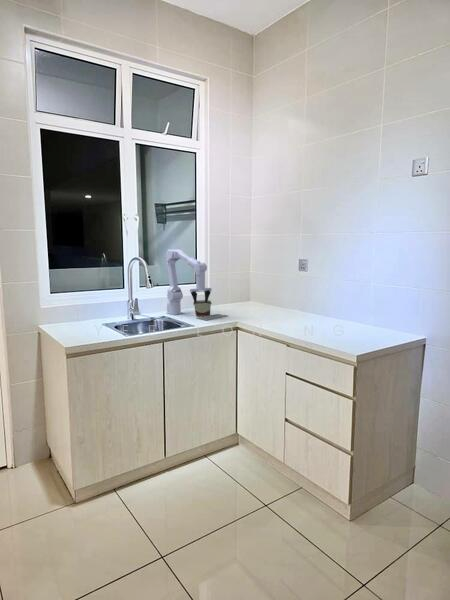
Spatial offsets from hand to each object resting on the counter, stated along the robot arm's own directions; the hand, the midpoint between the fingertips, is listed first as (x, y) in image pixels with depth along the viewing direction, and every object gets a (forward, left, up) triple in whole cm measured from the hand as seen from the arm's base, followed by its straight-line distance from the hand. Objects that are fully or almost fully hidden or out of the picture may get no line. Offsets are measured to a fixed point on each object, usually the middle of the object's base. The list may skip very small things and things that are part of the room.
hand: (200, 302), depth 253 cm
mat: (+4, +6, -10) cm, 13 cm away
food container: (-4, +6, -10) cm, 13 cm away
